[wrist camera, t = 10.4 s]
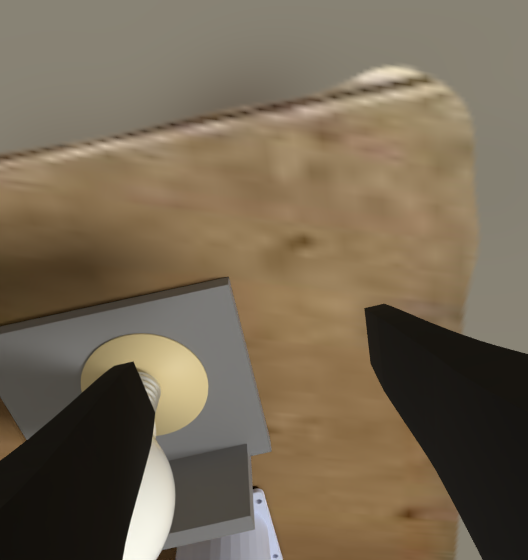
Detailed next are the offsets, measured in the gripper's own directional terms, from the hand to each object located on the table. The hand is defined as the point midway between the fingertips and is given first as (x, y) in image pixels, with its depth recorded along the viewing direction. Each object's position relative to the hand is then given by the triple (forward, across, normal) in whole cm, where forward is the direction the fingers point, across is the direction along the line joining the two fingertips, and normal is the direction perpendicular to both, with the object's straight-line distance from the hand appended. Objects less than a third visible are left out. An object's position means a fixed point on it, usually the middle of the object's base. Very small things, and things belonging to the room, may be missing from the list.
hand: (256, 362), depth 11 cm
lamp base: (+10, +9, +7) cm, 15 cm away
